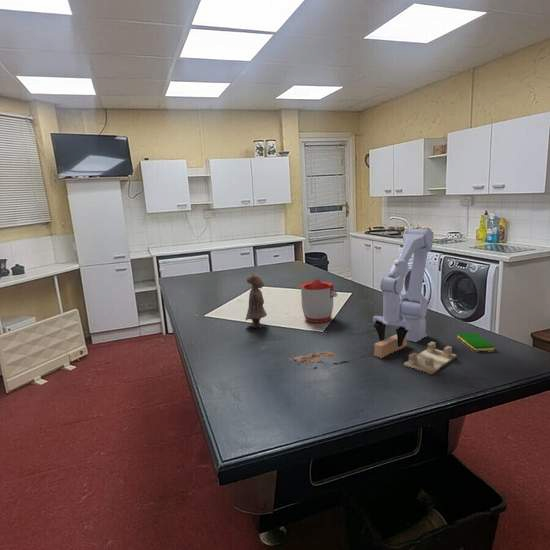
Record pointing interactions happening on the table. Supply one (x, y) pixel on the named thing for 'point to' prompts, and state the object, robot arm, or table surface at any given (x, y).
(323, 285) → the citrus juicer
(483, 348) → the dish sponge
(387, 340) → the clay strip
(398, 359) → the table surface
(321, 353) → the bark
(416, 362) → the birch rack
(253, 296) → the clay figurine
